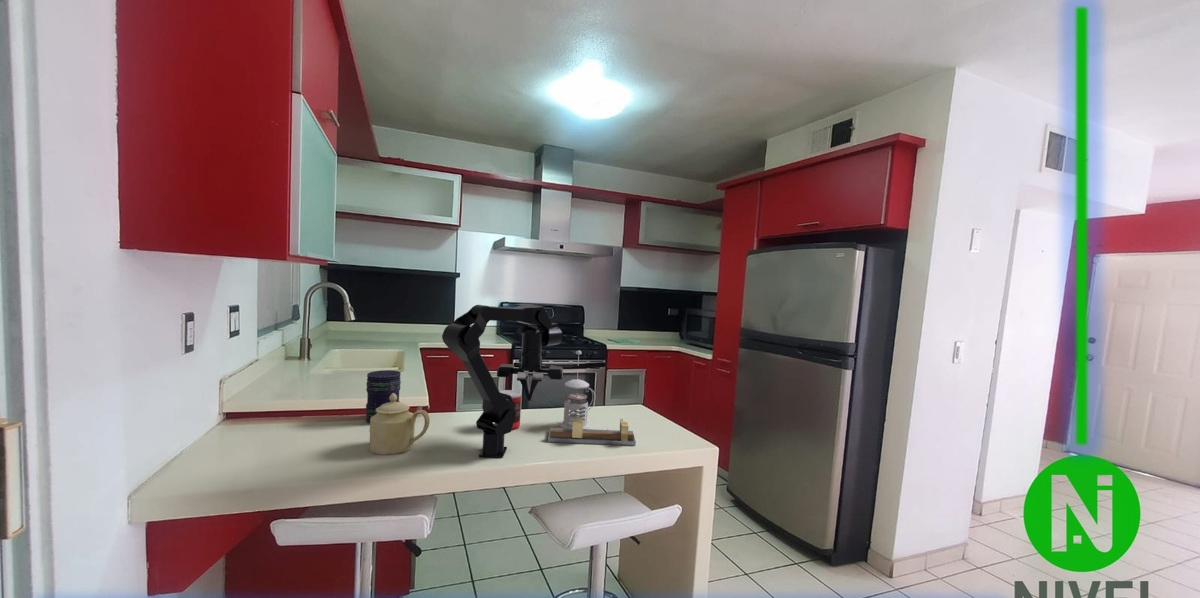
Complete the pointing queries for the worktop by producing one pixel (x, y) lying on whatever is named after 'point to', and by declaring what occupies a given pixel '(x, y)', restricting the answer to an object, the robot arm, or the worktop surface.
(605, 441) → the plate
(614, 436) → the beam
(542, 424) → the worktop surface
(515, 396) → the canned food
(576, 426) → the slider
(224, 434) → the worktop surface
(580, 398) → the french press
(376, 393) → the storage jar
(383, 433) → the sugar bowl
